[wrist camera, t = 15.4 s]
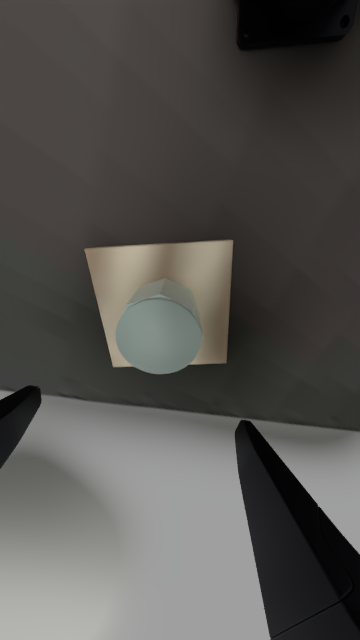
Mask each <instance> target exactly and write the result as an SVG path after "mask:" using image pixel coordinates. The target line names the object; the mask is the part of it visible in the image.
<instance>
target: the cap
mask: <svg viewBox="0 0 360 640" xmlns="http://www.w3.org/2000/svg"><path fill="white" fill-rule="evenodd" d="M115 335H116V343H117V346H118V349H119V351H120V353H121V354H122V356H123V357H124V358H125V359H126V360H127V361H128V362H129V363H130V364H131V365H133V366H134V367H136V368H138V369H140V370H142V371H145V372H148V373H152V374H169V373H173V372H176V371H179V370H181V369H183V368H185V367H186V366H187V365H189V364H190V363H191V362H192V361H193V360H194V358H195V357H196V355H197V354H198V351H199V349H200V344H201V342H202V341H203V333H202V328H201V322H200V316H199V312H198V309H197V306H196V303H195V300H194V297H193V294H192V291H191V290H190V289H187V288H185V287H183V286H181V285H179V284H177V283H175V282H173V281H171V280H169V279H167V278H164V279H161V280H158V281H155V282H152V283H149V284H146V285H143V286H140V287H138V289H137V290H136V292H135V293H134V294H133V296H132V297H131V299H130V300H129V302H128V303H127V304H126V307H125V309H124V312H123V314H122V317H121V318H120V320H119V322H118V324H117V328H116V332H115Z"/></svg>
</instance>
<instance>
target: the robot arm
mask: <svg viewBox="0 0 360 640" xmlns="http://www.w3.org/2000/svg"><path fill="white" fill-rule="evenodd" d="M357 3H358V0H238V14H237V37H236V38H237V44H238V46H239V47H240V48H241V49H252V48H263V47H274V46H285V45H297V44H308V43H319V42H330V41H338V40H341V39H342V38H343V37H344V36H345V35H346V34H347V33H348V32H349V30H350V29H351V27H352V25H353V22H354V17H355V13H356V8H357ZM340 21H342V22H343V23H344V29H342V28H341V27H340ZM245 30H246V31H248V32H249V37H247V38H246V37H244V36H243V33H242V32H243V31H245ZM40 404H41V392H40V388H39V387H38V386H31V385H29V386H26V387H24V388H22V389H21V390H19V391H17V392H15V393H13V394H11V395H9V396H7V397H5V398H3V399H1V400H0V468H1V467H2V466H3V465H4V463H5V462H6V460H7V459H8V457H9V456H10V455H11V453H12V452H13V450H14V449H15V447H16V446H17V444H18V443H19V441H20V440H21V438H22V436H23V435H24V433H25V431H26V429H27V428H28V425H29V424H30V422H31V421H32V419H33V417H34V415H35V414H36V412H37V410H38V408H39V407H40ZM235 443H236V454H237V464H238V473H239V478H240V484H241V489H242V494H243V500H244V505H245V510H246V515H247V520H248V526H249V531H250V536H251V541H252V546H253V552H254V557H255V562H256V567H257V572H258V577H259V583H260V588H261V593H262V598H263V603H264V609H265V614H266V619H267V624H268V629H269V634H270V637H271V640H360V554H359V553H358V552H357V551H356V550H355V549H354V548H353V546H352V545H351V544H350V543H349V542H348V541H347V539H346V538H345V537H344V536H343V535H342V534H341V532H340V531H339V530H338V529H337V528H336V526H335V525H334V524H333V523H332V522H331V520H330V519H329V518H328V517H327V515H326V514H325V513H324V512H323V510H322V509H321V508H320V507H318V505H317V503H316V502H315V501H314V500H313V498H312V497H311V496H310V494H309V493H308V492H307V491H306V489H305V488H304V487H303V486H302V485H301V483H300V482H299V481H298V480H297V478H296V477H295V476H294V475H293V473H292V472H291V471H290V470H289V468H288V467H287V466H286V465H285V463H284V462H283V461H282V460H281V459H280V457H279V456H278V455H277V454H276V452H275V451H274V450H273V449H272V447H271V446H270V445H269V444H268V442H267V441H266V440H265V439H264V437H263V436H262V435H261V434H260V432H259V431H258V430H257V429H256V428H255V426H254V425H253V424H252V423H251V422H250V421H247V420H241V421H240V423H239V425H238V427H237V429H236V431H235Z"/></svg>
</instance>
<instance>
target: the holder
mask: <svg viewBox="0 0 360 640" xmlns="http://www.w3.org/2000/svg"><path fill="white" fill-rule="evenodd" d="M232 252H233V240H230V239H229V240H211V241H193V242H175V243H158V244H140V245H122V246H104V247H90V248H86V249H85V253H86V257H87V261H88V266H89V270H90V274H91V278H92V282H93V286H94V290H95V294H96V298H97V302H98V306H99V311H100V315H101V319H102V323H103V327H104V331H105V335H106V339H107V343H108V347H109V352H110V356H111V360H112V364H113V367H129V366H133V365H131V364H130V363H129V362H128V361H127V360H126V359H125V358H124V357H123V356H122V354H121V353H120V351H119V349H118V346H117V343H116V335H115V332H116V328H117V324H118V322H119V320H120V318H121V317H122V314H123V312H124V309H125V307H126V304H127V303H128V302H129V300H130V299H131V297H132V296H133V294H134V293H135V292H136V290H137V289H138V287H140V286H143V285H146V284H149V283H152V282H155V281H158V280H161V279H164V278H167V279H169V280H171V281H173V282H175V283H177V284H179V285H181V286H183V287H185V288H187V289H190V290H191V291H192V294H193V297H194V300H195V303H196V306H197V309H198V312H199V316H200V322H201V328H202V333H203V341H202V342H201V344H200V349H199V351H198V354H197V355H196V357H195V358H194V360H193V361H192V362H191V363H190V364H219V363H226V360H227V342H228V324H229V306H230V288H231V270H232Z"/></svg>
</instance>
